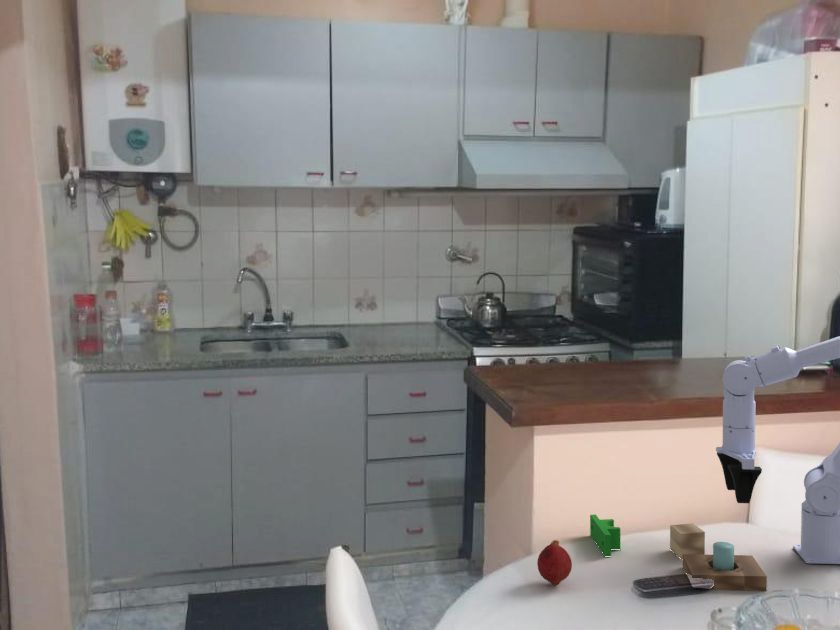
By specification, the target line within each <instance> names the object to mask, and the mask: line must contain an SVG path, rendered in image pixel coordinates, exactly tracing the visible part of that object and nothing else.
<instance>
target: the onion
mask: <svg viewBox="0 0 840 630" xmlns="http://www.w3.org/2000/svg"><path fill="white" fill-rule="evenodd" d="M559 543H560V541H559V540H558V539H553V540H552V541H551V542H550V543H549V545H546V546H545V547H544V548H543V549H542V550H541V551H540V553H539V554H538V557H537V563H536V564H537V565H536V566H537V569H538V572H539V574H540V576H541V577H542V578H543V579H544V580H545V581H547V582H548V583H549V584H552V585H554V586H558V585H559V584H560V583H562V581H564V580H566V579H567V578H568V577H569V576H570V573H572V572H571V571H572V568H573V562H572V559H571V556H570V554H569V553H568V551H567V550H566V549H565V548H564V547H562V546H561V545H559Z"/></svg>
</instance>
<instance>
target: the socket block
mask: <svg viewBox="0 0 840 630" xmlns="http://www.w3.org/2000/svg"><path fill="white" fill-rule="evenodd" d="M682 569H684V570H683V572H684V571H685V572H684V573H687V574H690V575H692V578H703V579H708V578H709V579H712V580H713V581H714V586H713V587H712V588H711V589H710V590H716V591H717V590H718V591H720V590H722V591H757V592H758V591H759V592H760V591H761V592H766V591H768V590H767V588H768V587H767V583H768V582H767V581H768V580H767V579H768V576H767V574H766V573H765V571H764V570H763V569H762V567H761V565H760V564H759V563H758V561H757V560H756V558H755V557H754V556H753V555H751V554H750V555H746V554H745V555H743V554H742V555H741V554H734V570H733V571H724V570H718V569H715V568H713V554H705V555H698V554H683V560H682Z"/></svg>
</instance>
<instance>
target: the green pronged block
mask: <svg viewBox="0 0 840 630" xmlns="http://www.w3.org/2000/svg"><path fill="white" fill-rule="evenodd" d="M589 517H590V520H589V521H590V523H589V525H590V526H589V530H590V531H589V533H590V534H589V536H590V537H591V539H592V540H593V542H594V541H595V542H596V543H597V545H598V546H599V548H600V549H601V551H602V552H603V554H604V555H605V556H611V557H612V551H611V549H620V550H621V528H620V526H615V520H614V518H605V519H600V518H599V516H597V514H590V515H589ZM595 542H594V543H595ZM596 543H595V544H596ZM597 545H596V546H597ZM598 546H597V547H598ZM599 548H598V549H599ZM600 549H599V550H600ZM601 551H600V552H601ZM602 552H601V553H602ZM603 554H602V555H603ZM604 555H603V556H604Z"/></svg>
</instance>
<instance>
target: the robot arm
mask: <svg viewBox="0 0 840 630" xmlns="http://www.w3.org/2000/svg"><path fill="white" fill-rule="evenodd" d="M770 350H771V351H767V352H765V353H762V354H758V355H755V356H751V355H746V356H744V359H745V360H742V359H741V360H739V359H738V360H734V361H731V362H730V363H728V364H727V366H726V367H725V369H724V371H723V375H722V384H723V387H724V390H723V397H724V399H723V401H722V445H721V446H716V447H715V452H716V455H717V458H718V460H719V462H720V465H721V468H722V472H723V476H724V477H723V478H724V481H725V482H724V483H725V487H726V489H727V490H728V491H734V494H735V495H734V496H735V499H736V503H737V504H750V503H751V500H752V497H753V496H752V495H753V491H754V488H755V484H756V482H757V480H758V479H759V477H760V475H761V474H762V472H763V471H762V470H763V468H761V466H755V458H756V455H757V448H756V413H757V412H756V408H757V407H756V404H757V403H756V401H755V389H756V387H761V388H763V387H766V386H770V385H774V384H777V383H781V382H784V381H787V380H791V379H794V378H796V377H798V376H799V374H800V372H801V370H802V369H803V368H806V367H811V366H814V365H819V364H823V363H825V362H830V361H834V360H837V359H840V335H839V336H836V337H833V338H830V339H827V340H824V341H822V342H819V343H815V344H813V345H809V346H807V347H803V348H801V349H798V350H794V349H791V348H789V347H786V346H784V347H781V348H780V347H779V346H778V345H775V346H773V347H771V348H770ZM803 486H804V489H805V493H804V495H805V500H804V501H803V502H802V503H801V513H800V514H801V519H800V521H801V522H800V524H801V525H800V544H793V546H792V548H793V549H794V550H795V551H796V552H797V554H798V555H799V556H800V558H801V559H802V560H803V561H804V562H805V563H806V564H815V565H816V564H817V565H824V564H825V565H840V442H838V444H837V445H836V447H835V448H834V449H833V451H832V452H831V454H828V455H827V456H826V457H825V458H824V459H823V460H822V462H820V464H819V465H817V466H814V467H813V468H811V469H810V470H808V472H807V473H806V474H805V475H804V479H803Z"/></svg>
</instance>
